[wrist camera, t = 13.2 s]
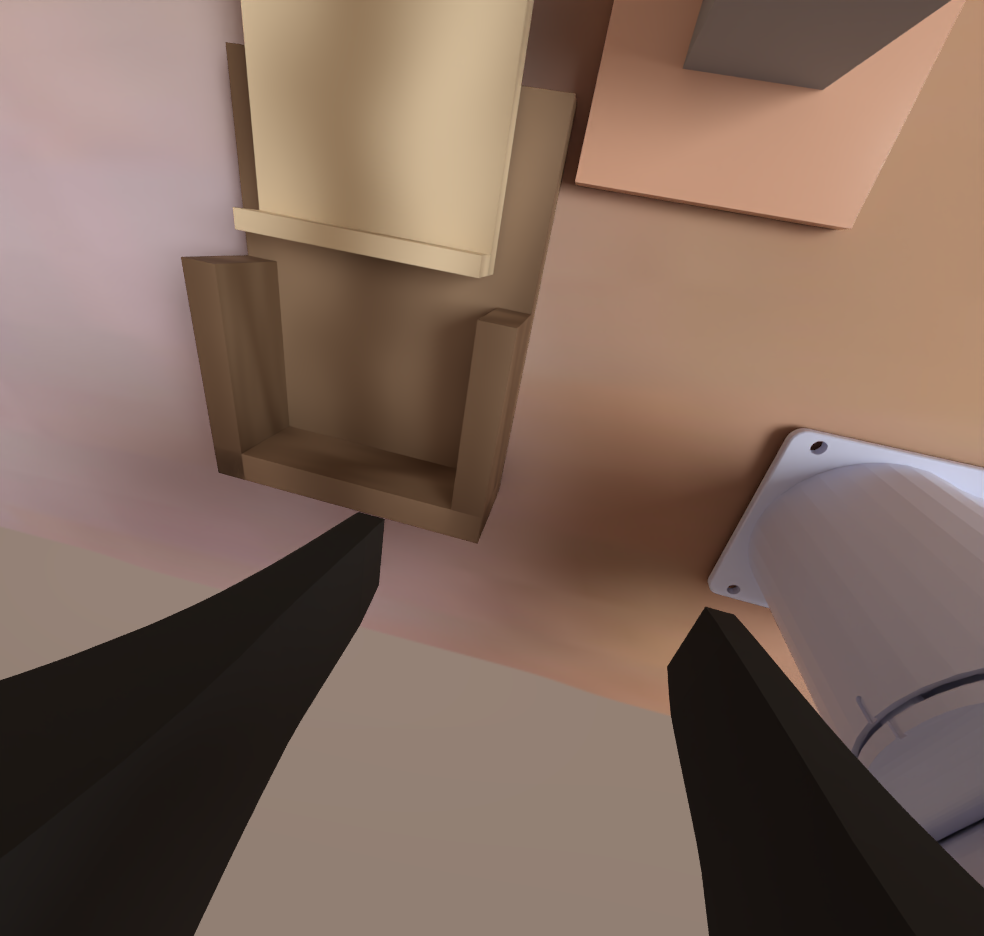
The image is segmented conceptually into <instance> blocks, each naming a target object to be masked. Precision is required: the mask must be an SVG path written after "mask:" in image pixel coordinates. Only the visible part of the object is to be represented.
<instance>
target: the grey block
mask: <svg viewBox="0 0 984 936" xmlns="http://www.w3.org/2000/svg"><path fill="white" fill-rule="evenodd" d="M950 1H951V0H703V2H702V5H701V8H700V12H699V15H698V18H697V22H696V25H695V28H694V32H693V35H692V39H691V42H690V45H689V49H688V52H687V55H686V59H685V62H684V65H683V69H688V70H695V71H701V72H708V73H714V74H721V75H727V76H734V77H740V78H747V79H753V80H760V81H766V82H773V83H780V84H786V85H793V86H799V87H806V88H812V89H819V90H824V89H825V88H826V87H828V86H829V85H831V84H832V83H834V82H835V81H836V80H838V79H839V78H841V77H842V76H844V75H845V74H846V73H848V72H849V71H851V70H852V69H854V68H855V67H857V66H858V65H859V64H861V63H862V62H864V61H865V60H867V59H868V58H869V57H871V56H872V55H874V54H875V53H877V52H878V51H879V50H881V49H882V48H884V47H885V46H887V45H888V44H889V43H891V42H892V41H894V40H895V39H897V38H898V37H899V36H901V35H902V34H904V33H905V32H907V31H908V30H909V29H911V28H912V27H914V26H915V25H917V24H918V23H919V22H921V21H922V20H924V19H925V18H927V17H928V16H930V15H931V14H932V13H934V12H935V11H937V10H938V9H940V8H941V7H942V6H944V5H945V4H947V3H948V2H950Z"/></svg>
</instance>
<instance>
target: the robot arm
mask: <svg viewBox="0 0 984 936" xmlns="http://www.w3.org/2000/svg"><path fill="white" fill-rule="evenodd" d="M818 441H823V442H822V445H821V446H820V448H818V449H816V450H810V448H811V446H812V445H813V444H814V443H815V442H818ZM384 520H385V519H382V518H379V517H375V516H371V515H368V514H364V513H361V512H358V513H356V514H354V515H353V516H351V517H349V518H348V519H346V520H345V521H343V522H341V523H340V524H338V525H337V526H335V527H333V528H332V529H330V530H329V531H327V532H325V533H324V534H322V535H321V536H319V537H317V538H316V539H314V540H312V541H311V542H309V543H308V544H306V545H304V546H303V547H301V548H299V549H297V550H296V551H294V552H292V553H291V554H289V555H287V556H286V557H284V558H282V559H281V560H279V561H277V562H275V563H274V564H272V565H270V566H268V567H267V568H265V569H263V570H261V571H259V572H257V573H256V574H254V575H252V576H250V577H248V578H246V579H244V580H243V581H241V582H239V583H237V584H235V585H233V586H231V587H229V588H228V589H226V590H224V591H222V592H220V593H218V594H216V595H214V596H212V597H210V598H208V599H206V600H204V601H202V602H200V603H197V604H195V605H193V606H191V607H189V608H187V609H184V610H182V611H180V612H178V613H176V614H173V615H171V616H169V617H167V618H164V619H162V620H160V621H158V622H155V623H153V624H151V625H148V626H146V627H143V628H141V629H138V630H136V631H133V632H131V633H128V634H126V635H123V636H120V637H118V638H116V639H113V640H110V641H108V642H105V643H103V644H100V645H97V646H95V647H92V648H90V649H88V650H85V651H82V652H80V653H77V654H75V655H72V656H69V657H66V658H64V659H61V660H58V661H55V662H53V663H50V664H47V665H44V666H41V667H38V668H35V669H32V670H30V671H27V672H24V673H21V674H18V675H15V676H12V677H9V678H6V679H3V680H0V936H194V934H195V932H196V930H197V928H198V925H199V923H200V921H201V919H202V917H203V914H204V913H205V911H206V909H207V906H208V904H209V902H210V900H211V898H212V896H213V893H214V892H215V890H216V887H217V885H218V883H219V881H220V879H221V877H222V875H223V873H224V871H225V868H226V866H227V864H228V862H229V860H230V858H231V856H232V854H233V852H234V850H235V848H236V846H237V844H238V842H239V840H240V838H241V835H242V834H243V831H244V829H245V827H246V825H247V823H248V821H249V819H250V817H251V815H252V813H253V811H254V809H255V807H256V805H257V803H258V801H259V799H260V797H261V795H262V793H263V791H264V789H265V787H266V785H267V783H268V781H269V779H270V777H271V775H272V773H273V771H274V769H275V768H276V766H277V763H278V762H279V760H280V758H281V756H282V754H283V752H284V750H285V748H286V746H287V744H288V742H289V740H290V739H291V737H292V735H293V734H294V732H295V730H296V728H297V727H298V725H299V723H300V721H301V720H302V718H303V716H304V715H305V713H306V711H307V710H308V708H309V707H310V705H311V703H312V702H313V700H314V699H315V697H316V695H317V694H318V692H319V690H320V689H321V687H322V686H323V684H324V683H325V681H326V679H327V678H328V676H329V675H330V673H331V671H332V670H333V668H334V666H335V665H336V663H337V662H338V660H339V658H340V657H341V655H342V654H343V652H344V650H345V649H346V647H347V645H348V644H349V642H350V641H351V639H352V637H353V635H354V634H355V632H356V631H357V629H358V627H359V626H360V624H361V622H362V620H363V618H364V616H365V614H366V611H367V609H368V607H369V605H370V603H371V601H372V599H373V596H374V594H375V592H376V590H377V588H378V586H379V577H380V565H381V554H382V543H383V532H384ZM707 582H708V585H709V588H710V590H711V591H712V592H714V593H716V594H719V595H723V596H726V597H730V598H734V599H737V600H741V601H745V602H749V603H752V604H756V605H760V606H763V607H767V608H770V610H771V613H772V615H773V617H774V619H775V621H776V623H777V625H778V627H779V629H780V631H781V634H782V636H783V638H784V640H785V642H786V644H787V646H788V648H789V650H790V652H791V655H792V657H793V659H794V661H795V663H796V665H797V667H798V669H799V671H800V673H801V676H802V678H803V680H804V682H805V684H806V686H807V688H808V690H809V692H810V694H811V696H812V699H813V701H814V703H815V705H816V707H817V709H818V711H819V713H820V715H821V716H820V715H819V714H818V713H817V712H816V711H815V709H814V708H813V707H812V706H811V705H810V704H809V702H808V701H807V700H806V699H805V698H804V696H803V695H802V694H801V693H800V692H799V690H798V689H797V688H796V687H795V686H794V685H793V683H792V682H791V681H790V680H789V679H788V677H787V676H786V675H785V674H784V673H783V671H782V670H781V669H780V668H779V666H778V665H777V664H776V663H775V662H774V660H773V659H772V658H771V657H770V656H769V654H768V653H767V652H766V651H765V650H764V648H763V647H762V646H761V645H760V644H759V642H758V641H757V640H756V639H755V638H754V637H753V635H752V634H751V633H750V632H749V631H748V630H747V628H746V627H745V626H744V625H743V624H742V623H741V622H740V621H739V619H738V618H737V617H736V616H735V615H734V614H730V613H726V612H723V611H719V610H715V609H712V608H708V607H705V608H704V610H703V611H702V613H701V615H700V616H699V618H698V619H697V621H696V622H695V624H694V626H693V627H692V629H691V630H690V632H689V633H688V635H687V637H686V638H685V640H684V641H683V643H682V644H681V646H680V648H679V649H678V651H677V652H676V654H675V655H674V657H673V658H672V660H671V662H670V663H669V665H668V666H667V670H668V686H669V700H670V711H671V718H672V724H673V729H674V734H675V739H676V744H677V749H678V754H679V759H680V764H681V768H682V774H683V779H684V784H685V788H686V793H687V798H688V803H689V808H690V813H691V817H692V821H693V827H694V832H695V837H696V841H697V848H698V853H699V860H700V866H701V872H702V880H703V888H704V897H705V904H706V914H707V922H708V931H709V936H984V468H983V467H979V466H974V465H970V464H965V463H961V462H956V461H952V460H947V459H943V458H938V457H934V456H929V455H925V454H920V453H916V452H911V451H907V450H902V449H898V448H893V447H889V446H884V445H880V444H875V443H871V442H866V441H862V440H857V439H853V438H848V437H844V436H839V435H835V434H830V433H826V432H821V431H817V430H812V429H808V428H800V429H796V430H794V431H792V432H791V433H789V434H788V436H787V437H786V438H785V440H784V442H783V444H782V446H781V447H780V449H779V451H778V453H777V455H776V456H775V458H774V460H773V462H772V464H771V466H770V467H769V469H768V471H767V473H766V475H765V476H764V478H763V480H762V482H761V484H760V485H759V487H758V489H757V491H756V493H755V494H754V496H753V498H752V500H751V502H750V504H749V505H748V507H747V509H746V511H745V513H744V514H743V516H742V518H741V520H740V522H739V523H738V525H737V527H736V529H735V531H734V532H733V534H732V536H731V538H730V540H729V542H728V543H727V545H726V547H725V549H724V551H723V552H722V554H721V556H720V558H719V560H718V561H717V563H716V565H715V567H714V569H713V570H712V572H711V574H710V576H709V578H708V581H707ZM731 585H737V586H736V587H734V588H728V587H729V586H731ZM821 717H822V718H821Z"/></svg>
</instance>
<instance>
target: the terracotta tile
mask: <svg viewBox="0 0 984 936" xmlns="http://www.w3.org/2000/svg"><path fill="white" fill-rule="evenodd" d="M965 1H966V0H951V1H950V2H948V3H947V4H945V5H944V6H942V7H941V8H940V9H938V10H937V11H935V12H934V13H932V14H931V15H930V16H928V17H927V18H925V19H924V20H922V21H921V22H919V23H918V24H917V25H915V26H914V27H912V28H911V29H909V30H908V31H907V32H905V33H904V34H902V35H901V36H899V37H898V38H897V39H895V40H894V41H892V42H891V43H889V44H888V45H887V46H885V47H884V48H882V49H881V50H879V51H878V52H877V53H875V54H874V55H872V56H871V57H869V58H868V59H867V60H865V61H864V62H862V63H861V64H859V65H858V66H857V67H855V68H854V69H852V70H851V71H849V72H848V73H846V74H845V75H844V76H842V77H841V78H839V79H838V80H836V81H835V82H834V83H832V84H831V85H829V86H828V87H826V88H825V89H824V90H819V89H812V88H806V87H799V86H793V85H786V84H780V83H773V82H766V81H760V80H753V79H747V78H740V77H734V76H727V75H721V74H714V73H708V72H701V71H695V70H688V69H683V65H684V62H685V59H686V55H687V52H688V49H689V45H690V42H691V39H692V35H693V32H694V28H695V25H696V22H697V18H698V15H699V12H700V8H701V5H702V2H703V0H614V3H613V7H612V12H611V17H610V21H609V26H608V31H607V35H606V40H605V45H604V49H603V54H602V59H601V63H600V68H599V73H598V77H597V82H596V86H595V91H594V96H593V100H592V105H591V110H590V114H589V119H588V124H587V128H586V133H585V138H584V142H583V147H582V152H581V156H580V161H579V165H578V170H577V175H576V179H575V183H576V185H578V186H584V187H590V188H596V189H602V190H608V191H613V192H619V193H625V194H631V195H637V196H643V197H648V198H654V199H660V200H666V201H672V202H678V203H683V204H689V205H695V206H701V207H707V208H713V209H718V210H724V211H730V212H736V213H742V214H748V215H754V216H759V217H765V218H771V219H777V220H783V221H789V222H794V223H800V224H806V225H812V226H818V227H824V228H829V229H835V230H843V229H851V228H852V226H853V224H854V222H855V220H856V218H857V216H858V214H859V212H860V210H861V208H862V206H863V204H864V202H865V200H866V198H867V196H868V194H869V192H870V190H871V189H872V187H873V185H874V183H875V181H876V179H877V177H878V175H879V173H880V171H881V169H882V167H883V165H884V163H885V161H886V159H887V157H888V155H889V153H890V151H891V149H892V147H893V145H894V143H895V141H896V139H897V137H898V135H899V133H900V131H901V129H902V127H903V125H904V123H905V121H906V119H907V117H908V115H909V113H910V111H911V109H912V107H913V105H914V103H915V101H916V99H917V97H918V95H919V93H920V91H921V89H922V87H923V85H924V83H925V81H926V79H927V77H928V75H929V73H930V71H931V69H932V67H933V65H934V63H935V61H936V59H937V57H938V55H939V53H940V51H941V49H942V47H943V45H944V43H945V41H946V39H947V37H948V35H949V33H950V31H951V29H952V27H953V25H954V23H955V21H956V19H957V17H958V15H959V13H960V11H961V9H962V7H963V5H964V3H965Z"/></svg>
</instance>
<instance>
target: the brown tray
mask: <svg viewBox="0 0 984 936" xmlns="http://www.w3.org/2000/svg"><path fill="white" fill-rule="evenodd" d="M226 50H227V60H228V69H229V79H230V88H231V98H232V107H233V117H234V126H235V136H236V145H237V155H238V164H239V174H240V183H241V193H242V202H243V208H245V209H254V210H259V200H258V189H257V177H256V166H255V155H254V144H253V133H252V122H251V111H250V99H249V88H248V77H247V66H246V55H245V45H241V44H234V43H227V42H226ZM576 105H577V102H576V95H575V93H568V92H561V91H554V90H548V89H541V88H534V87H527V86H521V91H520V98H519V104H518V111H517V118H516V124H515V131H514V138H513V144H512V151H511V158H510V164H509V171H508V178H507V184H506V191H505V198H504V204H503V211H502V218H501V224H500V231H499V238H498V244H497V251H496V258H495V264H494V271H493V275H489V276H485V277H481V278H475V277H470V276H465V275H461V274H456V273H451V272H446V271H441V270H436V269H431V268H426V267H421V266H416V265H411V264H406V263H401V262H396V261H391V260H386V259H381V258H376V257H371V256H366V255H361V254H356V253H351V252H346V251H341V250H336V249H331V248H326V247H321V246H316V245H312V244H307V243H302V242H297V241H292V240H287V239H282V238H277V237H272V236H267V235H262V234H257V233H252V232H247V231H246V240H247V249H248V255H244V256H200V257H181V260H182V266H183V272H184V277H185V283H186V289H187V295H188V300H189V306H190V312H191V317H192V323H193V329H194V335H195V340H196V346H197V352H198V357H199V363H200V369H201V375H202V380H203V386H204V392H205V397H206V403H207V409H208V415H209V420H210V426H211V432H212V437H213V443H214V449H215V455H216V460H217V466H218V472H219V473H222V474H226V475H229V476H233V477H237V478H240V479H244V480H248V481H251V482H255V483H258V484H262V485H266V486H269V487H273V488H277V489H280V490H284V491H288V492H291V493H295V494H299V495H302V496H306V497H309V498H313V499H317V500H320V501H324V502H328V503H331V504H335V505H339V506H342V507H346V508H350V509H353V510H357V511H361V512H364V513H368V514H371V515H375V516H379V517H382V518H386V519H390V520H393V521H397V522H401V523H404V524H408V525H412V526H415V527H419V528H422V529H426V530H430V531H433V532H437V533H441V534H444V535H448V536H452V537H455V538H459V539H463V540H466V541H470V542H473V543H478V541H479V538H480V536H481V533H482V531H483V529H484V526H485V524H486V521H487V519H488V516H489V514H490V511H491V509H492V506H493V504H494V501H495V499H496V496H497V494H498V492H499V487H500V482H501V477H502V472H503V467H504V462H505V457H506V452H507V447H508V442H509V437H510V432H511V427H512V423H513V418H514V413H515V408H516V403H517V398H518V393H519V388H520V383H521V378H522V373H523V368H524V363H525V358H526V353H527V348H528V343H529V338H530V333H531V328H532V323H533V318H534V313H535V309H536V304H537V299H538V294H539V289H540V284H541V279H542V274H543V269H544V264H545V259H546V254H547V249H548V244H549V239H550V234H551V229H552V224H553V219H554V214H555V209H556V204H557V199H558V195H559V190H560V185H561V180H562V175H563V170H564V165H565V160H566V155H567V150H568V145H569V140H570V135H571V130H572V125H573V120H574V115H575V110H576Z"/></svg>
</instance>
